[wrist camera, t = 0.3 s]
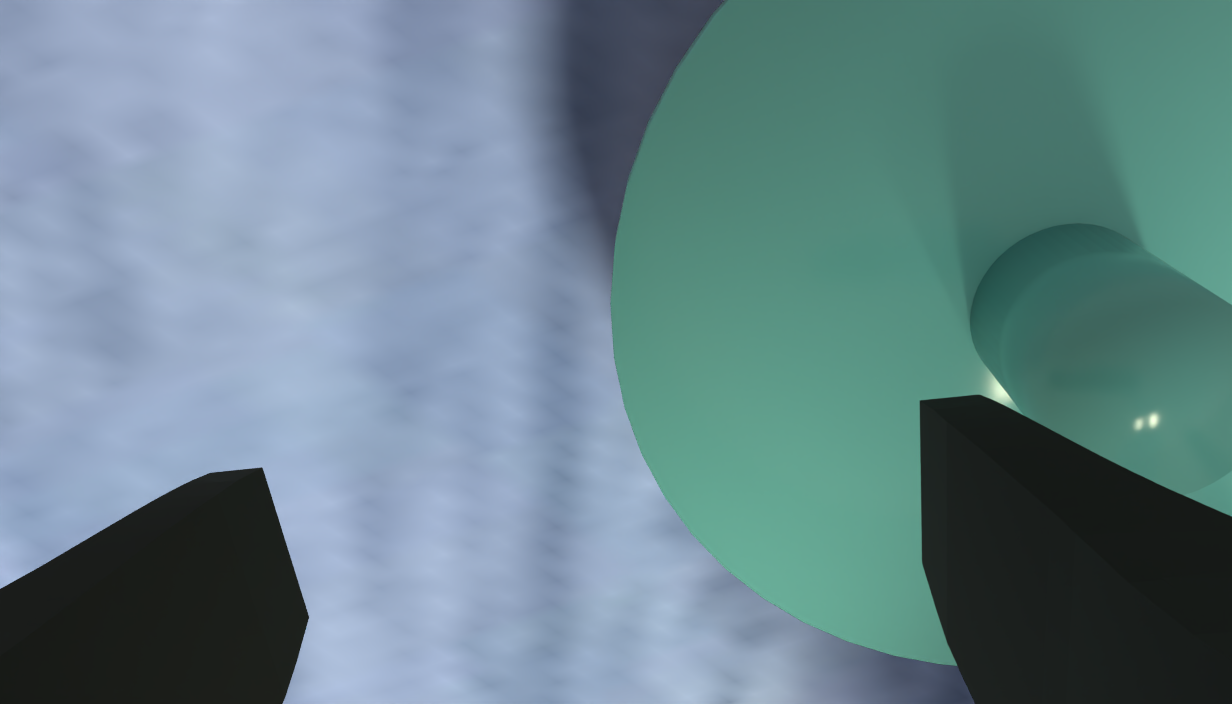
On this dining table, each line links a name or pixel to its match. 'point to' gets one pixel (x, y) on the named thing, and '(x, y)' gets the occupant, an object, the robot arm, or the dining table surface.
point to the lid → (921, 271)
